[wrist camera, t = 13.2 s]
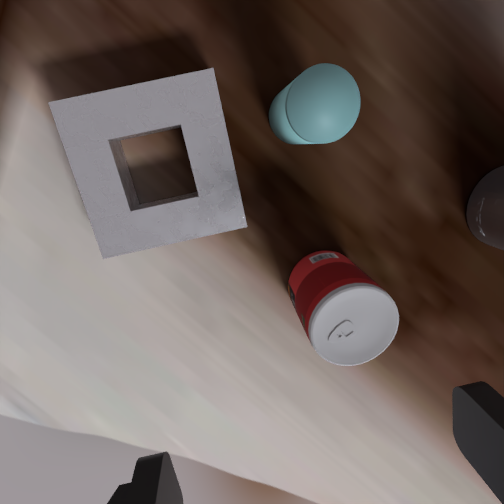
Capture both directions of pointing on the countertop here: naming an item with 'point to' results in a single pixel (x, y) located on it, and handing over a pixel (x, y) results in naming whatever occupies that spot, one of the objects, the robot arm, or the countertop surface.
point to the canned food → (342, 309)
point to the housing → (117, 172)
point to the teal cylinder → (316, 106)
